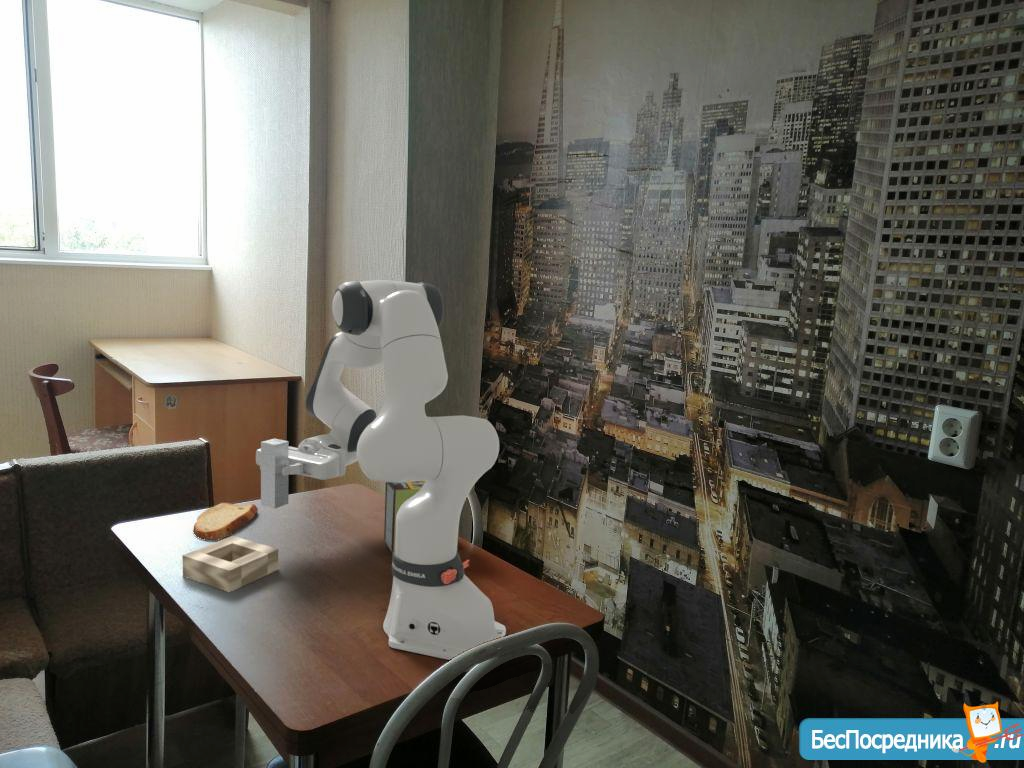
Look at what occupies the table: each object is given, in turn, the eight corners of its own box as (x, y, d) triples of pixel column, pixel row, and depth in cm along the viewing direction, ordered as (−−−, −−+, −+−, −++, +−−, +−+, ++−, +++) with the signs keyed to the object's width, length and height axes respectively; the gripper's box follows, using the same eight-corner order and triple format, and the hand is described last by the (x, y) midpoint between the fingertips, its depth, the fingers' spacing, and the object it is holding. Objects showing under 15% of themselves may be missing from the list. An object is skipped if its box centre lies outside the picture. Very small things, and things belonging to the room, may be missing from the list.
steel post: (288, 503, 163) (288, 441, 161) (274, 508, 160) (275, 445, 157) (274, 500, 165) (274, 438, 163) (261, 504, 162) (260, 442, 159)
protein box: (458, 550, 173) (461, 485, 170) (392, 556, 167) (395, 489, 164) (445, 533, 182) (448, 472, 180) (382, 539, 177) (384, 476, 174)
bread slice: (203, 544, 168) (203, 529, 168) (176, 521, 181) (175, 506, 181) (279, 528, 180) (279, 514, 180) (248, 507, 193) (248, 493, 193)
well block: (278, 569, 157) (278, 549, 156) (229, 592, 145) (229, 570, 145) (233, 555, 162) (233, 535, 162) (182, 576, 151) (182, 555, 150)
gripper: (281, 435, 177) (236, 447, 164) (350, 449, 168) (308, 463, 155) (281, 461, 178) (236, 475, 165) (350, 476, 169) (307, 492, 156)
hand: (271, 469), depth 160 cm, fingers closed on steel post, 4 cm apart
